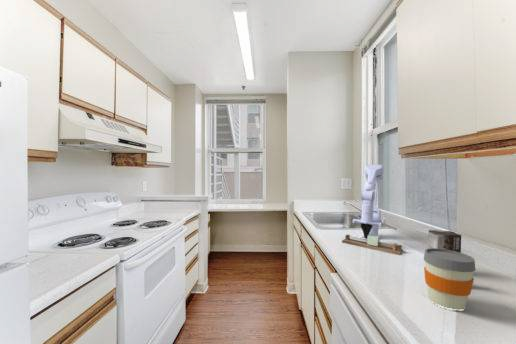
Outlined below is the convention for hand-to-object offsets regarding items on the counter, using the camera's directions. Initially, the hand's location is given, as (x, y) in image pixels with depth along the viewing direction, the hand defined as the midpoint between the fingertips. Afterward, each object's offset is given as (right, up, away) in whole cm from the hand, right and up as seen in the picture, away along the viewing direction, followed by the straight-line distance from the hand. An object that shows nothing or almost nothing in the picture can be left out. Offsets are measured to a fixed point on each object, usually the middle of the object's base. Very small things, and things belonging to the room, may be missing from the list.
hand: (366, 238), depth 133 cm
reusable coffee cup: (0, -5, -57) cm, 57 cm away
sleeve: (+3, -3, -2) cm, 4 cm away
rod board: (+2, -4, -2) cm, 5 cm away
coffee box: (+17, -5, -32) cm, 37 cm away
